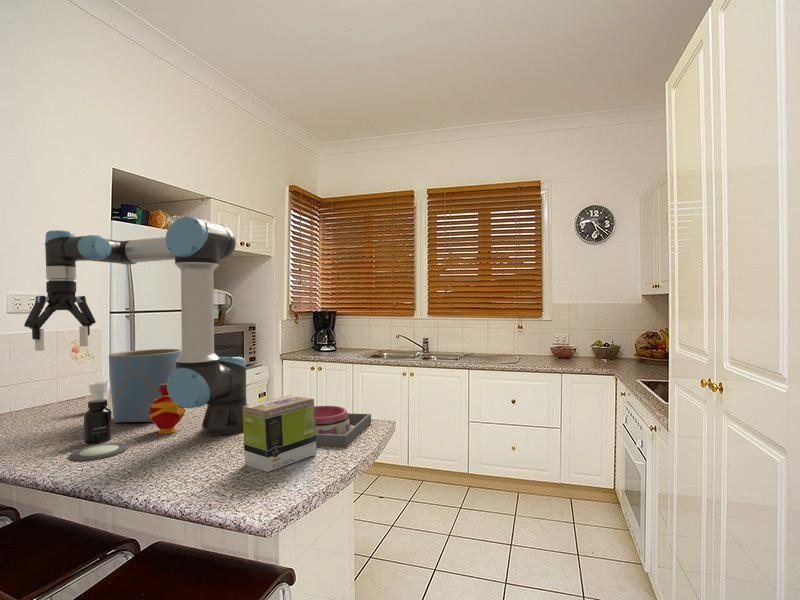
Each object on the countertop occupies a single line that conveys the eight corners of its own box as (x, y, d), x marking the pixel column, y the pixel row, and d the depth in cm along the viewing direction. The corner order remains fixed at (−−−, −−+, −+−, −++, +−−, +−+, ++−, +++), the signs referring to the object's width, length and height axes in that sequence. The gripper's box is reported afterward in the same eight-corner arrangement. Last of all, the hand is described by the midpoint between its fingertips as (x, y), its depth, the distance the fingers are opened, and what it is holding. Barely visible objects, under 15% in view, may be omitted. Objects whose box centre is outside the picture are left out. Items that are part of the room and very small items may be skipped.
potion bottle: (144, 437, 135) (143, 388, 135) (153, 428, 145) (152, 382, 145) (182, 434, 138) (181, 385, 138) (188, 425, 148) (187, 380, 148)
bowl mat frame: (371, 423, 145) (370, 413, 145) (346, 446, 121) (345, 435, 121) (302, 420, 150) (301, 411, 150) (265, 443, 127) (265, 432, 127)
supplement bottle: (97, 445, 129) (96, 403, 129) (78, 444, 130) (77, 403, 130) (117, 438, 136) (116, 398, 136) (98, 437, 137) (97, 398, 137)
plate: (138, 446, 127) (138, 443, 127) (98, 462, 114) (98, 459, 114) (100, 444, 130) (100, 441, 130) (57, 459, 117) (57, 457, 117)
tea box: (293, 448, 121) (291, 393, 122) (317, 455, 115) (315, 398, 115) (243, 464, 110) (241, 404, 110) (266, 473, 103) (265, 409, 104)
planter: (136, 410, 173) (135, 349, 173) (194, 409, 172) (193, 348, 172) (94, 426, 150) (92, 356, 150) (160, 425, 149) (158, 355, 149)
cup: (113, 410, 174) (113, 382, 174) (94, 414, 168) (94, 384, 168) (105, 408, 177) (104, 380, 177) (86, 412, 172) (85, 383, 172)
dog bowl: (364, 430, 138) (364, 407, 138) (322, 446, 123) (321, 421, 123) (321, 422, 149) (321, 401, 149) (277, 436, 133) (276, 413, 133)
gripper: (90, 282, 153) (91, 344, 153) (8, 279, 130) (9, 352, 129) (107, 281, 151) (108, 344, 151) (26, 278, 127) (27, 352, 127)
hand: (62, 348), depth 140 cm, fingers open, 13 cm apart
